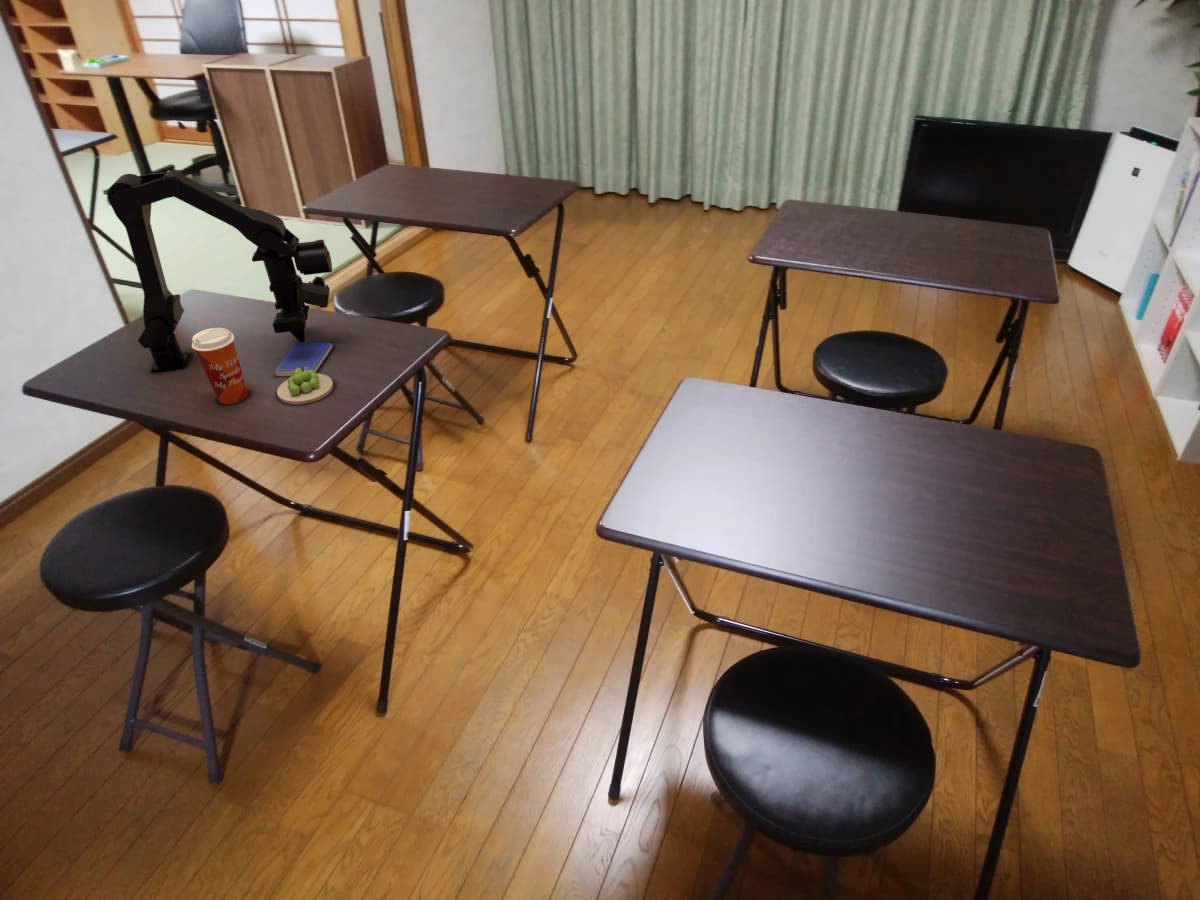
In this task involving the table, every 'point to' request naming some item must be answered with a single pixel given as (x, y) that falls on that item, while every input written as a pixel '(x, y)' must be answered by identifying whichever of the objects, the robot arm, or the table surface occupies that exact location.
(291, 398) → the grape saucer
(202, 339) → the paper cup
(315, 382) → the green grapes
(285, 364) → the blue book
